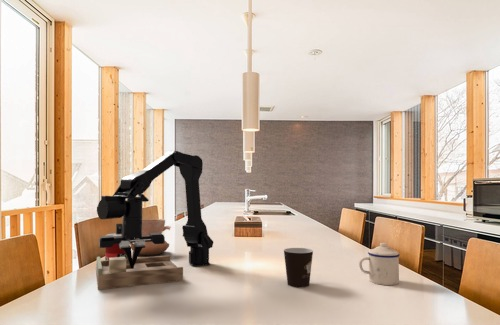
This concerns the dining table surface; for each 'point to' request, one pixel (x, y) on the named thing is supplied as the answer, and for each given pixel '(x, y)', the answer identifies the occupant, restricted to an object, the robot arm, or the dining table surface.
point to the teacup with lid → (382, 265)
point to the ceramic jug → (153, 227)
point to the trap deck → (139, 273)
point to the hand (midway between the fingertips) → (131, 268)
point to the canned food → (114, 249)
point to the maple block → (117, 264)
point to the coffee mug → (298, 266)
